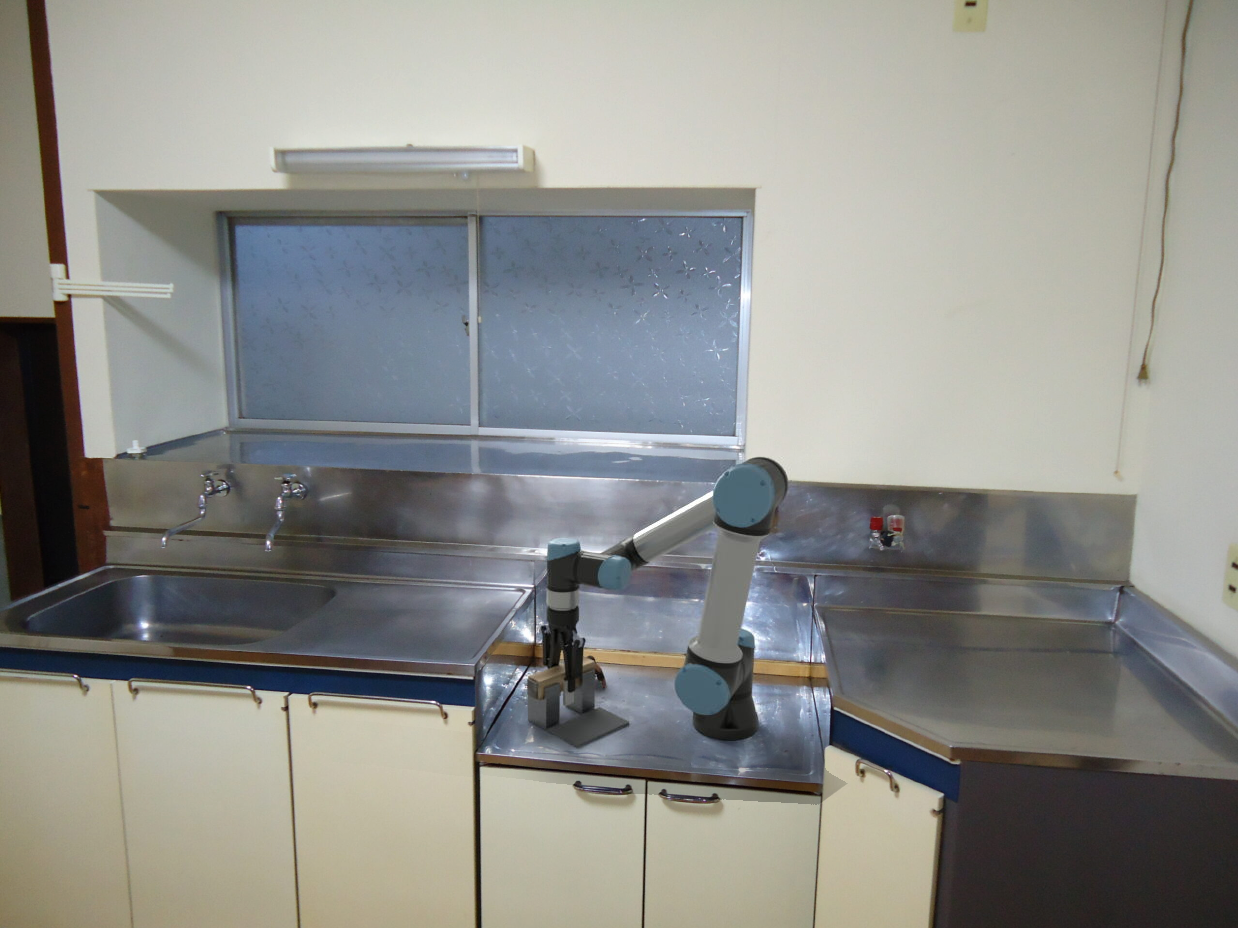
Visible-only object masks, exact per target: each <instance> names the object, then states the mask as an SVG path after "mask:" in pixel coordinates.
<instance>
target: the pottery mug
mask: <svg viewBox="0 0 1238 928" xmlns="http://www.w3.org/2000/svg"><path fill="white" fill-rule="evenodd" d="M585 657H586V658H589V659H591V660H593V661H595V679H596V681H597V682H601V686H602V688H603V690H605V689H606V688H607V682H606V677H605V675H604V674H605V673H604V671H603V670H602V668H601V667H600V664H598V663H597V662H596V658H595V657H594V655H591V654H590V655H587V656H585Z"/></svg>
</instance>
